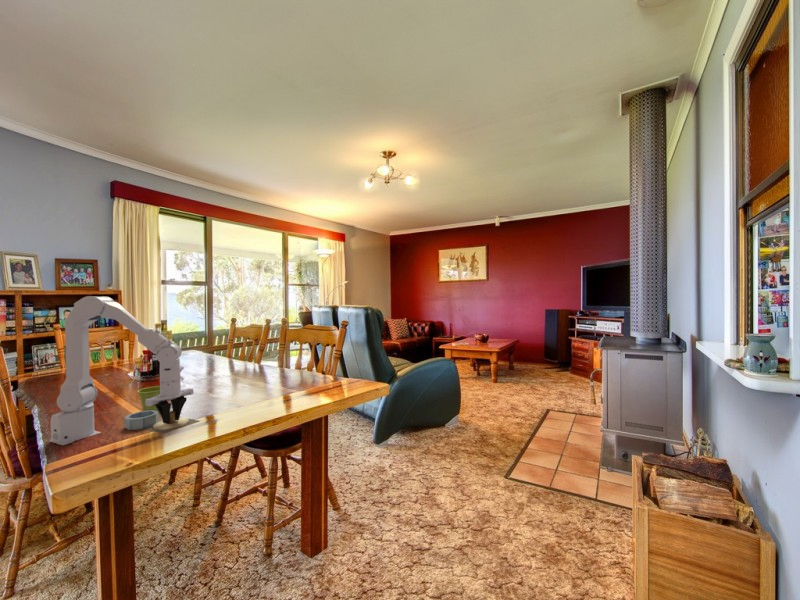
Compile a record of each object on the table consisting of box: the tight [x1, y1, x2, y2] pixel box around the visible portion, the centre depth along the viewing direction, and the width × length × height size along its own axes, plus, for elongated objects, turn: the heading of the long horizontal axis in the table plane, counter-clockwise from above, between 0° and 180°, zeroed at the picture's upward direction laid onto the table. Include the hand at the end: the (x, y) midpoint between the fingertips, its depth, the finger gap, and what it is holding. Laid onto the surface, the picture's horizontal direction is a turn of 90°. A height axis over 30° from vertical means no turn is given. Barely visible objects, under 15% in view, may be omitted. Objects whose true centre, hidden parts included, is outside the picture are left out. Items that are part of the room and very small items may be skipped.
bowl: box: [123, 410, 160, 431], centre depth 116 cm, size 9×9×4 cm
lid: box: [153, 410, 190, 430], centre depth 116 cm, size 10×10×4 cm
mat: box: [141, 418, 200, 435], centre depth 116 cm, size 12×12×1 cm
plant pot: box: [137, 385, 160, 412], centre depth 131 cm, size 9×9×9 cm
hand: (171, 421), depth 116 cm, fingers open, 3 cm apart
